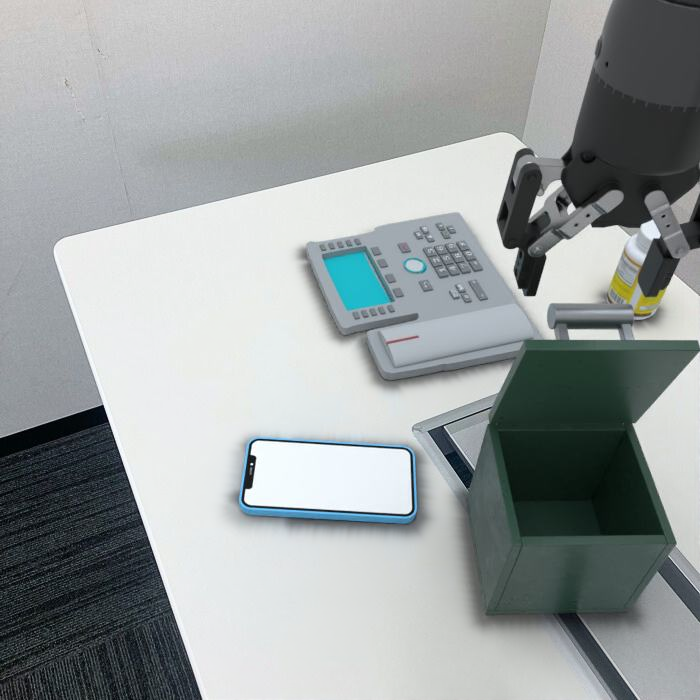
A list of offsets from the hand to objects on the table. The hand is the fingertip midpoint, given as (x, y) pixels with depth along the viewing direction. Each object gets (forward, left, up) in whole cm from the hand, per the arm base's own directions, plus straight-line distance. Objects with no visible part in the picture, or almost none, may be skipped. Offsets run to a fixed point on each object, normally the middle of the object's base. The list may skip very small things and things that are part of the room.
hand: (586, 289), depth 53 cm
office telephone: (+19, -14, -21) cm, 32 cm away
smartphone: (+13, +12, -21) cm, 28 cm away
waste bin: (-5, +7, -21) cm, 23 cm away
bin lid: (-3, +4, -5) cm, 7 cm away
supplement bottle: (-1, -27, -21) cm, 34 cm away
